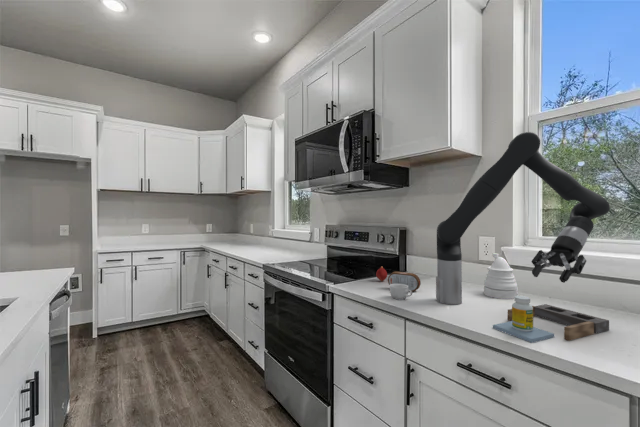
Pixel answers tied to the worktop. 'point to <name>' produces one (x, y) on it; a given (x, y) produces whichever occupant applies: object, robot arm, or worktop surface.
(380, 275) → the onion
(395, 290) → the teacup
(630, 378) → the worktop surface
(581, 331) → the channel
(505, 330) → the pad
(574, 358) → the worktop surface
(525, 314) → the supplement bottle
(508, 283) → the honey pot
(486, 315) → the worktop surface
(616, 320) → the worktop surface
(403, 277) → the tin
